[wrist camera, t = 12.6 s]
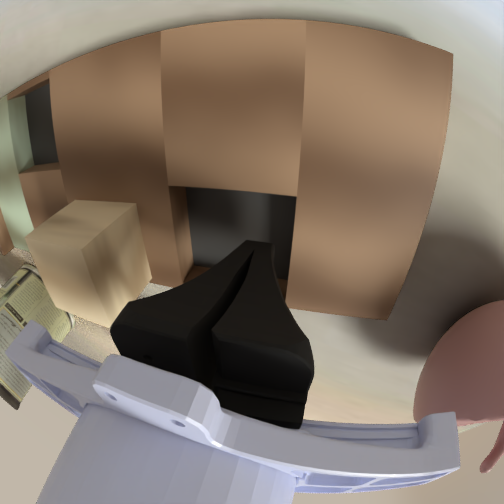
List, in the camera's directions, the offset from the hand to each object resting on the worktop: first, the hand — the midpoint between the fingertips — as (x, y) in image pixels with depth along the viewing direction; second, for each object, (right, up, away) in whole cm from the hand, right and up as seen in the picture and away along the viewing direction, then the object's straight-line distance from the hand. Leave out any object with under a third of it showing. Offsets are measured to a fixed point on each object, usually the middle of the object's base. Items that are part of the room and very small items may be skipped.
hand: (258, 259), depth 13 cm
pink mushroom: (+17, -5, +3) cm, 18 cm away
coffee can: (-25, -5, +14) cm, 30 cm away
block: (-9, +1, +3) cm, 9 cm away
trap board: (-8, +6, +2) cm, 10 cm away
